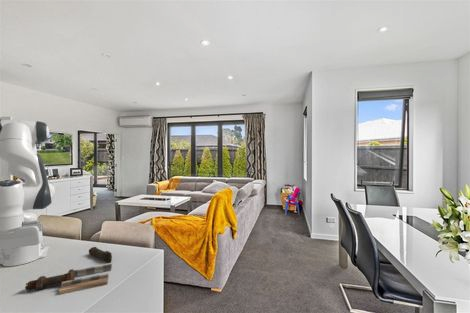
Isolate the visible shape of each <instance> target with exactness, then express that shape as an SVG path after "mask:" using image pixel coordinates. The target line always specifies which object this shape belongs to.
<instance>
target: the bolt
mask: <svg viewBox="0 0 470 313" xmlns="http://www.w3.org/2000/svg"><path fill="white" fill-rule="evenodd" d="M74 270H75V269H73V268H72V269H69V270H68V272H66V273H64V274H63V273H62V274H58V275H54V276H49V277H47V276H45V275H42V276H41V275H40V277H38V278H37V279H33V280H30V281H27V283H25V286H24V289H25V290H26V291H32V290H37V291H42V290H43V289H45V288H46V287H49V286H55V285H59V284H61V283H62V282H65V281H70V280H75V278H76V277H75V271H74Z"/></svg>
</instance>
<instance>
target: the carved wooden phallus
mask: <svg viewBox="0 0 470 313" xmlns="http://www.w3.org/2000/svg"><path fill="white" fill-rule="evenodd" d="M88 254H89V255H90V256H95V257H96V258H99V259H101V260H102V261H103V262H105V263H106V262H107V263H111V262H112V258H113V256H112V252H111V251H108V250H106V251H105V250H102V249H100V248H97V247H96V246H92V247H90V248H89V249H88Z"/></svg>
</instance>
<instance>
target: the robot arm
mask: <svg viewBox="0 0 470 313" xmlns="http://www.w3.org/2000/svg"><path fill="white" fill-rule="evenodd" d="M49 136H50V128H49V126H48V124H47V123H46V122H43V121H38V120H36V121H34V120H26V119H0V158H1V159H2V160H3V161H4V162H7V172H8V174H10V175H11V176H13V177H16V178H18V179H21V180H23V181H24V182H25V183H23V182H22V181H19V180H3V181H0V265H1V264H2V265H4V266H3V267H15V266H20V265H24V264H29V263H31V262H34V261H36V260H40V259H42V258H45V257H46V256H47V254H48V253H49V250H50V246H47V245H45V240H44V239H43V238H44V237H43V223H42V221H38V215H37V214H36V213H34V212H31V211H28V210H44V209H46V208H47V207H49V206H50V205H51V204H52V202H53V200H54V198H55V196H56V193H57V192H56V187H55V186H54V185H53V184H52V183H50V182H48V177H47V172H46V168H45V165H44V161H43V158H42V156H41V155H40V154H38V150H37V145H36V143H37V144H38V145H41V143H44V142H45V141H46V140H47V139H48V137H49Z"/></svg>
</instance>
